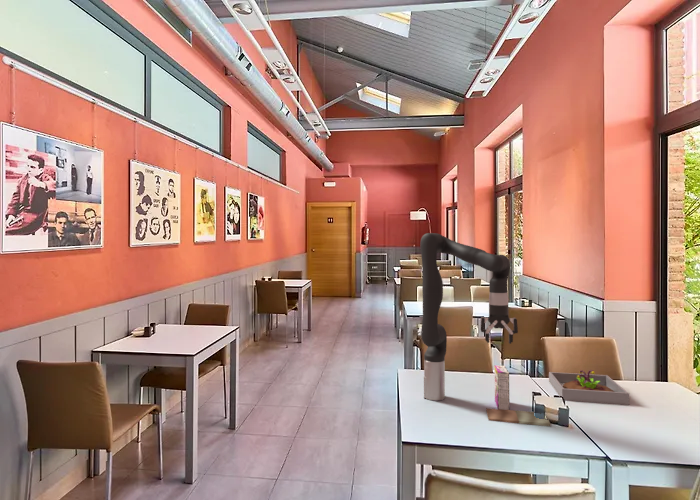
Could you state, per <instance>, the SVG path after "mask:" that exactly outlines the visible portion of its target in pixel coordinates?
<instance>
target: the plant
mask: <svg viewBox="0 0 700 500" xmlns="http://www.w3.org/2000/svg"><path fill="white" fill-rule="evenodd" d="M578 374H581V375H578V376H577V377H578V378H577V379H578V380H579V381H571V382H568V383H562V386H563V388H564V389H579V390H594V391H609V392H615V391H613V390H612V389H610V388H608V387H607V386H602V385H600V384H597V383H598V382H600V381H595V382H593V378H592V379H591V378H590V375H589V374H593V375H596V373H595V371H594V370H592V369H589V370H588V371H587V373H586V372H585V371H584V370H581V369H580V370H579V372H578ZM582 374H584V375H585V376H584V375H582ZM586 374H587V375H586ZM581 376H583V377H584V378H583V377H582V380H581V379H580V377H581Z"/></svg>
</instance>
